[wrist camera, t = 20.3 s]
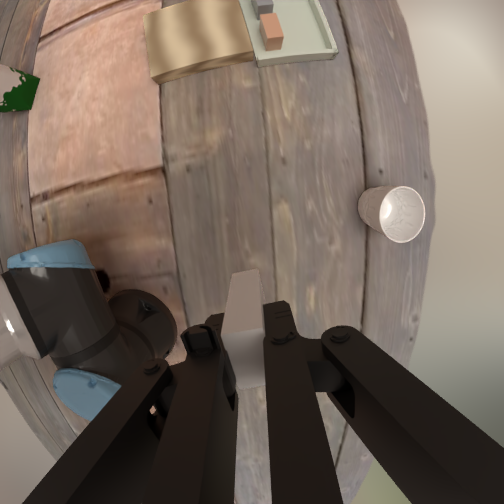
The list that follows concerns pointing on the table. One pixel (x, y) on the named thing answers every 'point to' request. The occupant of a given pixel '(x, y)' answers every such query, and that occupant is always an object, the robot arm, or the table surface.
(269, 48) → the terracotta tile
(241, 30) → the pine board
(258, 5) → the slate tile
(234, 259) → the table surface
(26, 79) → the milk carton
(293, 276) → the table surface
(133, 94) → the table surface
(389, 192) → the white cup
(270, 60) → the tray
